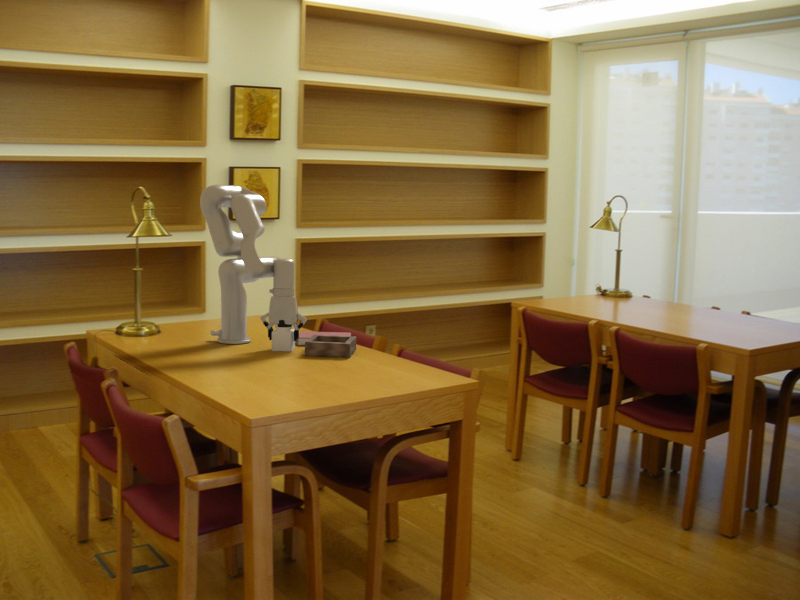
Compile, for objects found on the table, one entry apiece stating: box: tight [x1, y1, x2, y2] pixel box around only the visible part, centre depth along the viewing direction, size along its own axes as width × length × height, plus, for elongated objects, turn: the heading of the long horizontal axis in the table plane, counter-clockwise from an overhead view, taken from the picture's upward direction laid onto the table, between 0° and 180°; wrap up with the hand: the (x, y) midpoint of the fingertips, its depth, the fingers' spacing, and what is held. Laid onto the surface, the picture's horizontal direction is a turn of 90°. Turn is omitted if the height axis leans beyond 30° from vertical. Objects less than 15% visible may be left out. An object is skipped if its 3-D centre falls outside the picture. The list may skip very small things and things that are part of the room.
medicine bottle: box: [271, 320, 296, 353], centre depth 305 cm, size 7×7×12 cm
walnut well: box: [304, 335, 357, 359], centre depth 302 cm, size 16×16×5 cm
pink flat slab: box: [296, 331, 352, 347], centre depth 322 cm, size 20×14×3 cm
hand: (283, 339), depth 305 cm, fingers open, 8 cm apart
